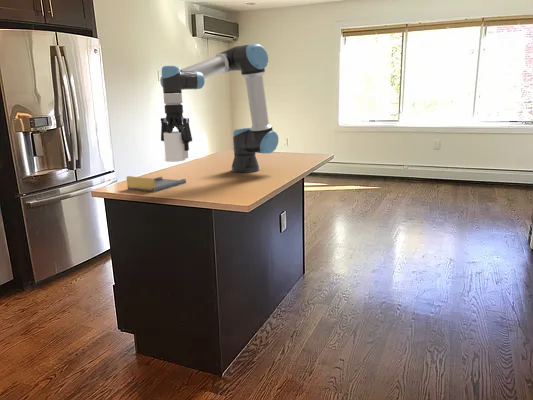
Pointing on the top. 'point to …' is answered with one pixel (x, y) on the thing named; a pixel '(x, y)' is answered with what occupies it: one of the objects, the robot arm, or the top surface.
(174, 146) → the mug
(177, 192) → the top surface
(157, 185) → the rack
